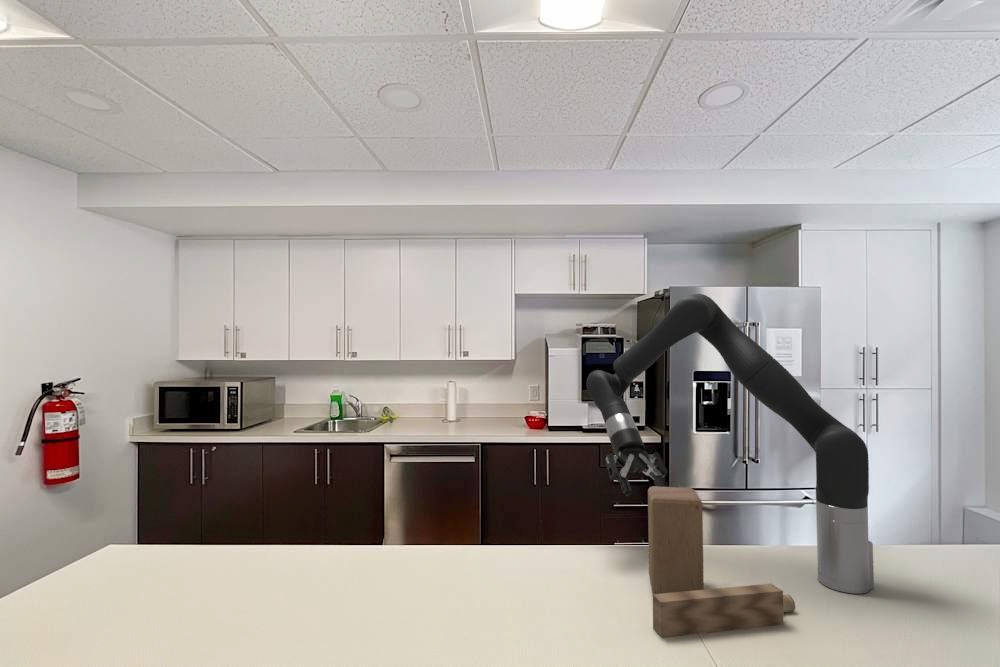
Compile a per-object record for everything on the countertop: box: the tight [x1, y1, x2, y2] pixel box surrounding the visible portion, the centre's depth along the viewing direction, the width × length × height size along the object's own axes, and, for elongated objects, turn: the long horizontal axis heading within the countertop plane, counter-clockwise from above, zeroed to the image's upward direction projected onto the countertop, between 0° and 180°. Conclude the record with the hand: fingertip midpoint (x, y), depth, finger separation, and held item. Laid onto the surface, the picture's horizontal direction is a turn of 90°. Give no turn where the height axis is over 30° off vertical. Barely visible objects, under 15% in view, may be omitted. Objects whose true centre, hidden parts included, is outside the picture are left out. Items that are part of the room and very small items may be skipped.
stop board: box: [652, 583, 785, 638], centre depth 93 cm, size 24×3×6 cm, turn 100°
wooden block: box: [647, 485, 705, 594], centre depth 109 cm, size 10×10×20 cm
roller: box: [783, 593, 796, 614], centre depth 99 cm, size 10×3×3 cm, turn 100°
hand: (646, 494), depth 120 cm, fingers open, 8 cm apart
